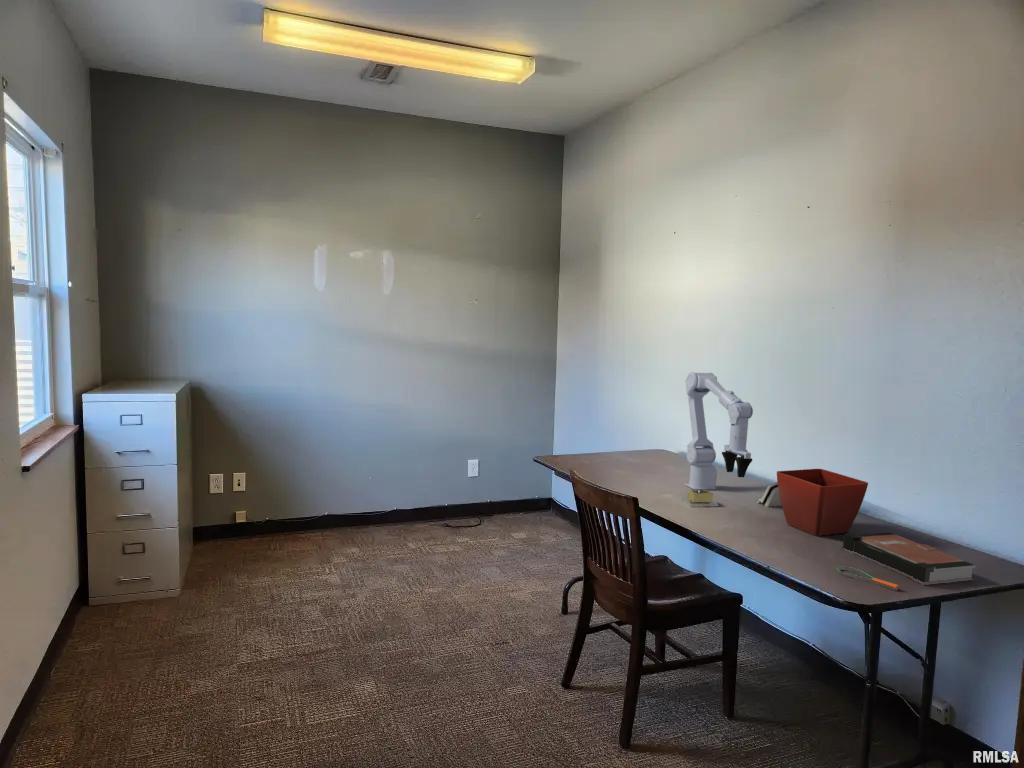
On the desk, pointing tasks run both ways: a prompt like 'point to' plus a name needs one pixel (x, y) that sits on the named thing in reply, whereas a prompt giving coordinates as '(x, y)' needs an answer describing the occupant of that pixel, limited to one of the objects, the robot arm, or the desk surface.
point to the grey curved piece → (771, 496)
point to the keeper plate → (699, 504)
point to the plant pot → (820, 500)
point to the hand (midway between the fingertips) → (735, 474)
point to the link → (699, 496)
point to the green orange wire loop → (875, 579)
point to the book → (908, 556)
